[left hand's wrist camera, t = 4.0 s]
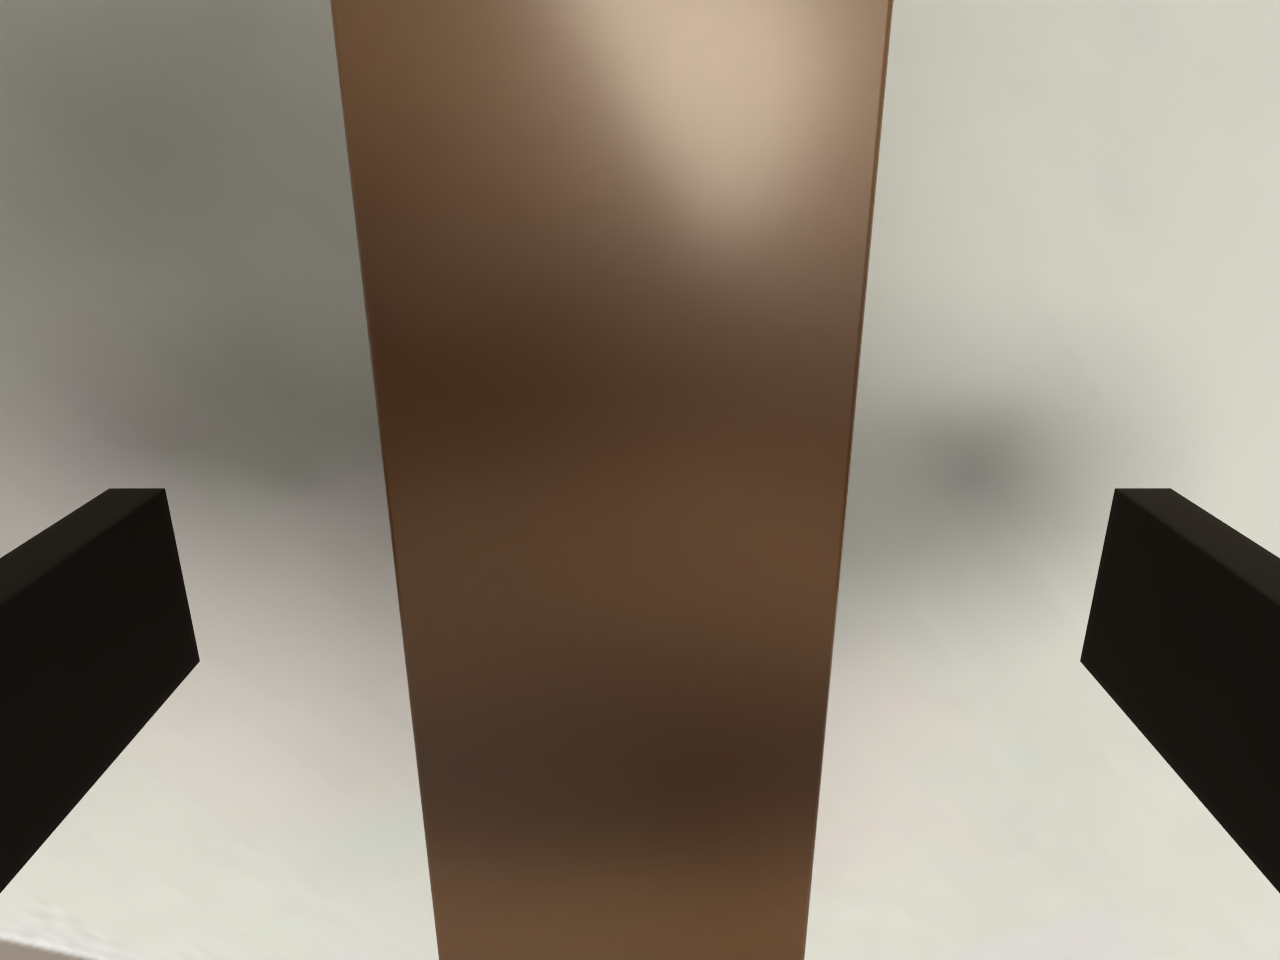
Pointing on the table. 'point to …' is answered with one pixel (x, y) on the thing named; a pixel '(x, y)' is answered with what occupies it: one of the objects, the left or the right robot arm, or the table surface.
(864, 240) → the post
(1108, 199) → the table surface
